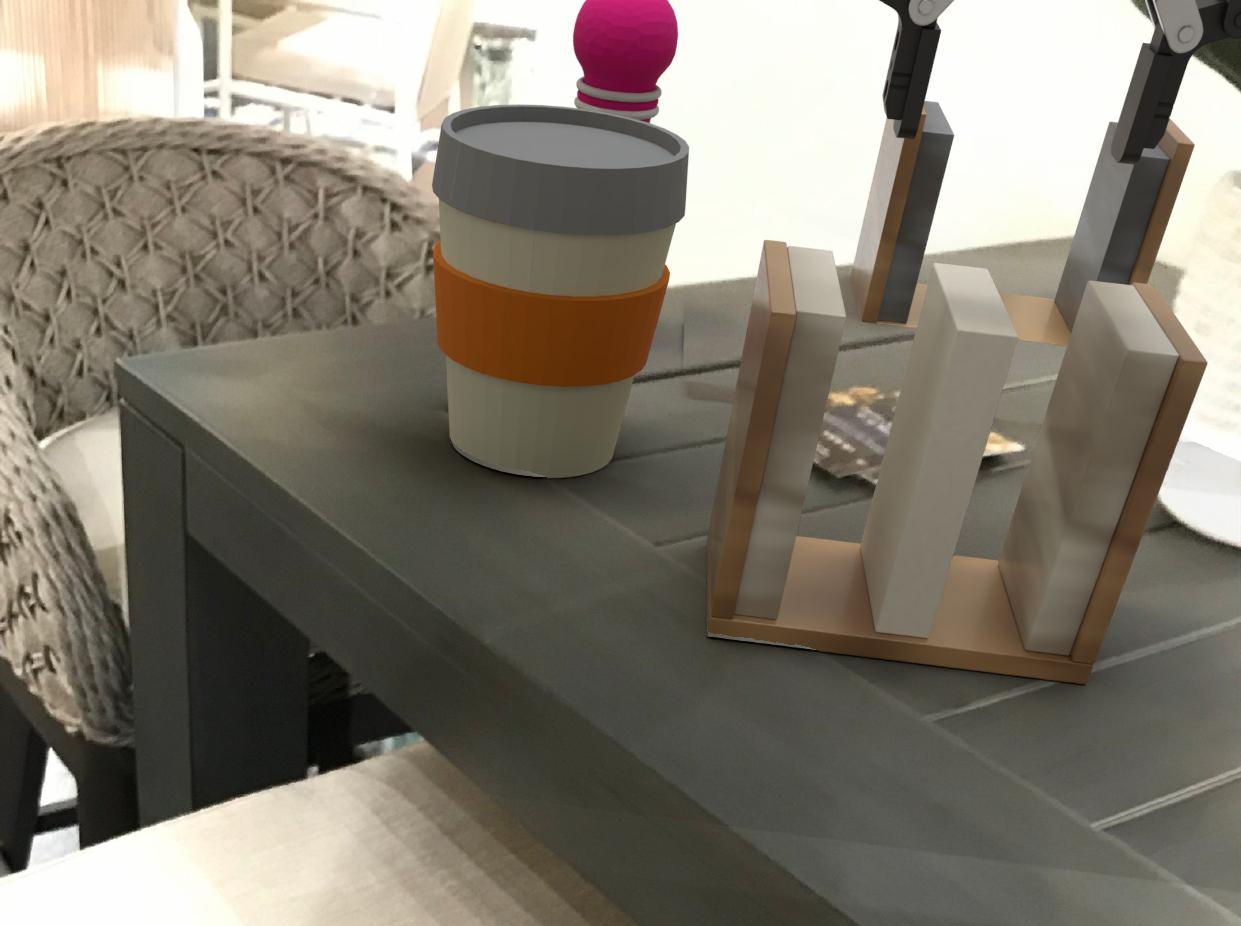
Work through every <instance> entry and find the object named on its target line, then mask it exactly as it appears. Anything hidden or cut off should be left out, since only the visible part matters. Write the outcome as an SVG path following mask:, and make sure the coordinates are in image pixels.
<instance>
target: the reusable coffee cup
mask: <svg viewBox="0 0 1241 926" xmlns="http://www.w3.org/2000/svg"><path fill="white" fill-rule="evenodd" d="M689 157H690V146H689V143H687V141H686V140H685V139H684V138H683V137H681V136H680V135H678V134H677V133H675V132H673V131H671V130H669V129H666V128H664V127H662V126H659V125H656V124H653V123H651V122H650V123H648V122H644V121H640V120H637V119H633V118H630V117H625V116H620V115H616V114H611V113H606V112H599V111H593V110H587V109H579V108H577V107H570V106H558V105H544V104H495V105H484V106H477V107H470V108H464V109H462V110H461V109H460V110H458V111H455V112H452V113H450V114H449V115H447V116H445V117H444V119H443V120H442V122H441V124H440V132H439V137H438V145H437V150H436V156H435V163H434V169H433V175H432V182H431V188H432V192H433V194H434V195H435V196H436V197H437V198H438V213H439V235H440V236H439V237H440V240H439V241H438V242H437V243H436V244H435V245H434V247H433V249H432V257H433V258H432V260H433V277H434V278H433V279H434V298H435V299H434V300H435V301H434V302H435V318H436V320H435V321H436V339H437V346H438V347H439V349H440V350H441V352H442V353H443V354H444V355H445V364H446V365H445V366H446V367H445V368H446V386H447V389H446V390H447V407H448V409H447V411H448V427H449V431H448V432H449V439H450V438H451V440H452V441H453V443H454V444H455V445H457V446H458V448H460V449H462V451H463V452H466V453H468V454H470V455H471V456H475V457H476V458H478V459H480V460H483V461H486V462H489V463H490V464H494V465H498V466H501V467H505V468H511V469H518V470H524V471H530V472H532V473H535V474H538V475H543V476H545V477H547V478H546V479H564V478H565V479H566V478H573V477H579V476H584V475H588V474H591V473H594V472H597V471H599V470H601V469H603V468H604V467H605V466H607V465H609V463H610V462H611V461H612V459H613V456H614V453H615V449H616V446H617V442H618V439H619V434H620V432H621V431H620V430H621V427H622V424H623V420H624V416H625V413H626V409H627V406H628V401H629V398H630V395H631V390H632V386H633V383H634V380H635V376H636V375H637V374H638V373H640V372H641V371H642V370H643V369H644V368H645V367H646V365H647V362H648V359H649V354H650V351H651V347H652V344H653V341H654V340H653V339H654V336H655V332H656V329H657V325H658V322H659V318H660V315H661V311H662V307H663V303H664V300H665V297H666V294H667V289H668V285H669V282H670V279H671V278H670V277H671V272H670V269H669V267H668V265H667V264H666V262H667V257H668V255H669V251H670V248H671V243H672V241H673V236H674V233H675V229H676V225H677V224H678V223H680V222H681V220H683V218H684V217H685V215H686V205H687V191H688V190H687V189H688V174H689Z"/></svg>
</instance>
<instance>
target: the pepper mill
mask: <svg viewBox="0 0 1241 926" xmlns="http://www.w3.org/2000/svg"><path fill="white" fill-rule="evenodd" d="M678 39H679V26H678V20H677V17H676V12H675V10H674V8H673V6H672V5H671V3H670V1H669V0H584V2H583V3H582V5H581V7H580V9H579V11H578V13H577V16H576V19H575V22H574V27H573V32H572V46H573V52H574V56H575V58H576V60H577V61H578V63H579V65H580V67H581V69H582V72H583V73H582V74H583V76H581V77H579V78H578V79H577V80H576V82H575V85H576V89H577V92H576V97H575V98H574V100H573V104H574V106H575V108H579V109H587V110H593V111H599V112H606V113H611V114H616V115H620V116H625V117H630V118H633V119H637V120H640V121H644V122H648V123H651V121H652V119H653V118H655V117H656V116H658V114H659V113H660V107H659V106H658V104H659V99H660V97H661V96H662V93H663V92H662V89H661V87H659V85H658V84H657V83H658V81H659V79H660V78H661V76H662V75H663V74H664V73H665V72H666V71H667V70H668V68H669V67H670V66H671V65H672V62H673V61H674V58H675V56H676V53H677V49H678V48H677V47H678Z"/></svg>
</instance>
